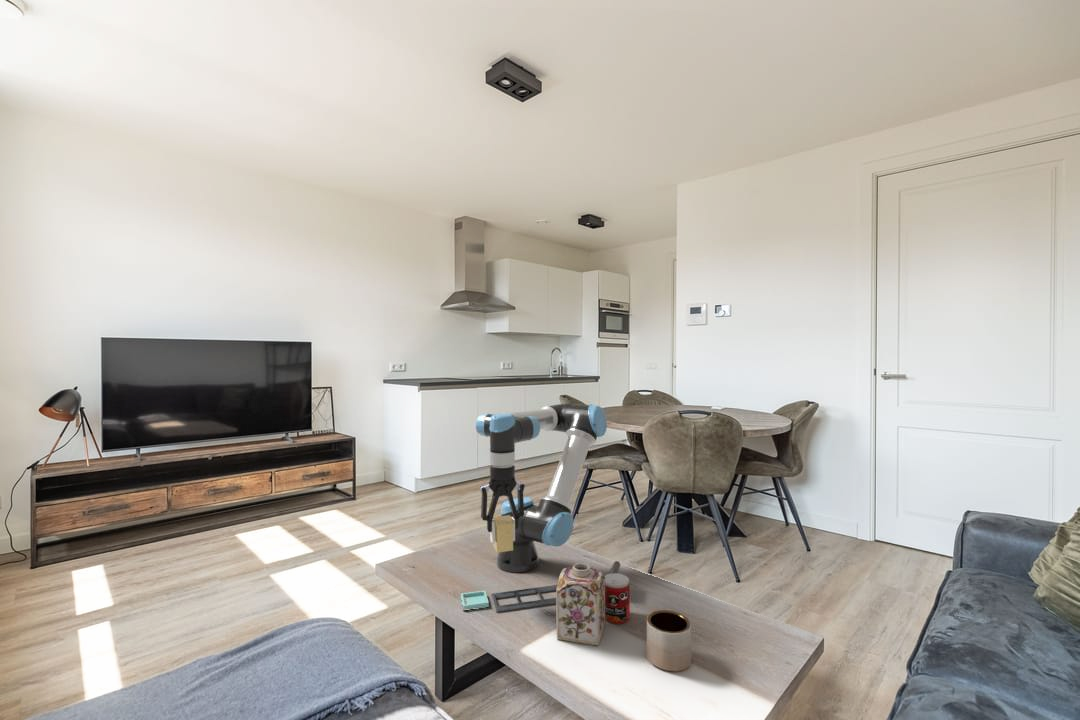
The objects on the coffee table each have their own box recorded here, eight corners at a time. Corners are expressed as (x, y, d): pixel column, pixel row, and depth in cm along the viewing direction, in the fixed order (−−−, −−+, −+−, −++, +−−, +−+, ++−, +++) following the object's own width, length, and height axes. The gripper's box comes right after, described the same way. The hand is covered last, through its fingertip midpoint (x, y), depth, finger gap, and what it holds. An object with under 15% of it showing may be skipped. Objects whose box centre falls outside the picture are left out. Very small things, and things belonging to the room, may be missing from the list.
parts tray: (485, 595, 153) (485, 590, 153) (488, 607, 145) (488, 602, 145) (460, 598, 151) (460, 593, 151) (463, 611, 143) (463, 606, 143)
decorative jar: (606, 622, 137) (605, 559, 137) (599, 647, 126) (599, 578, 125) (564, 616, 140) (564, 555, 140) (555, 640, 129) (554, 573, 129)
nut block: (509, 543, 152) (509, 515, 152) (514, 550, 146) (514, 521, 146) (492, 546, 150) (491, 517, 150) (496, 553, 145) (495, 523, 145)
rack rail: (558, 588, 157) (558, 584, 157) (567, 602, 148) (567, 598, 148) (491, 597, 151) (491, 593, 151) (496, 612, 143) (496, 608, 143)
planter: (664, 678, 114) (664, 638, 113) (637, 652, 124) (637, 614, 123) (701, 666, 118) (701, 627, 118) (672, 641, 128) (672, 605, 128)
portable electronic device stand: (599, 584, 160) (599, 558, 160) (623, 587, 158) (623, 561, 157) (595, 597, 151) (595, 570, 151) (620, 600, 149) (620, 573, 149)
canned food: (599, 621, 137) (599, 583, 137) (605, 607, 145) (605, 571, 145) (626, 626, 135) (626, 587, 135) (631, 612, 142) (631, 575, 142)
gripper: (528, 460, 154) (528, 532, 155) (469, 464, 149) (470, 539, 149) (535, 465, 147) (535, 541, 148) (474, 470, 142) (474, 549, 142)
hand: (502, 540), depth 148 cm, fingers closed on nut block, 6 cm apart
